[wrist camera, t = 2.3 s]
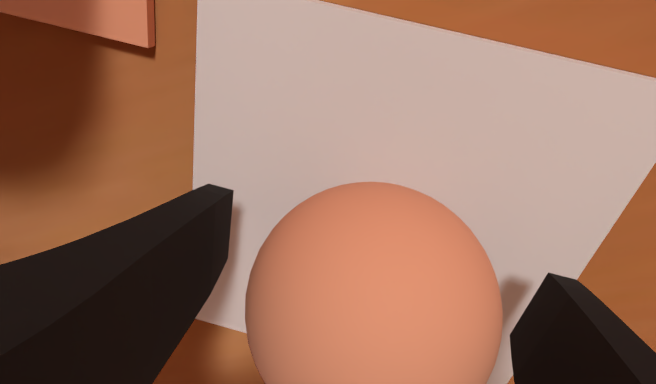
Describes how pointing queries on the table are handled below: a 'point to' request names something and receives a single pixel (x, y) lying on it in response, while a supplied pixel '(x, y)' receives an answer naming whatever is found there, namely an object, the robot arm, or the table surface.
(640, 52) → the table surface
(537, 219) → the ball mat
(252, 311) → the terracotta ball
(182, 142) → the table surface
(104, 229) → the robot arm
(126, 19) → the tube
